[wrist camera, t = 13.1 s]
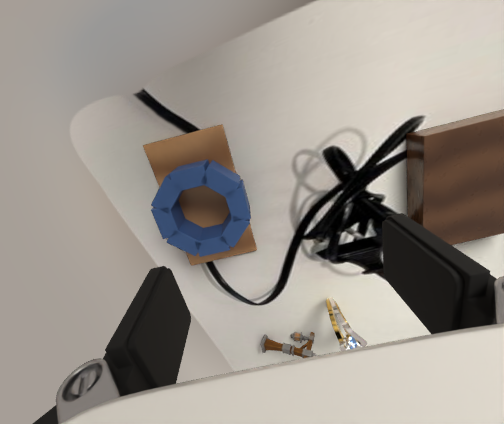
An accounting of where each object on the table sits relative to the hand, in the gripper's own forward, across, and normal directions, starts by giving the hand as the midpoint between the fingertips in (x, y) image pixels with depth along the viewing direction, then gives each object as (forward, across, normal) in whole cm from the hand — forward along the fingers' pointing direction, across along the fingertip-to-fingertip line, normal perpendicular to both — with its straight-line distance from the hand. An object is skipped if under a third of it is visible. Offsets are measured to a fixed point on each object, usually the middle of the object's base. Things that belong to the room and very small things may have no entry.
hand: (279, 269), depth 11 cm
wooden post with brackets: (+19, +1, +26) cm, 33 cm away
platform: (+20, -24, +7) cm, 31 cm away
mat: (+20, +7, +2) cm, 21 cm away
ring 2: (+19, -7, +22) cm, 30 cm away
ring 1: (+19, +7, +3) cm, 20 cm away
